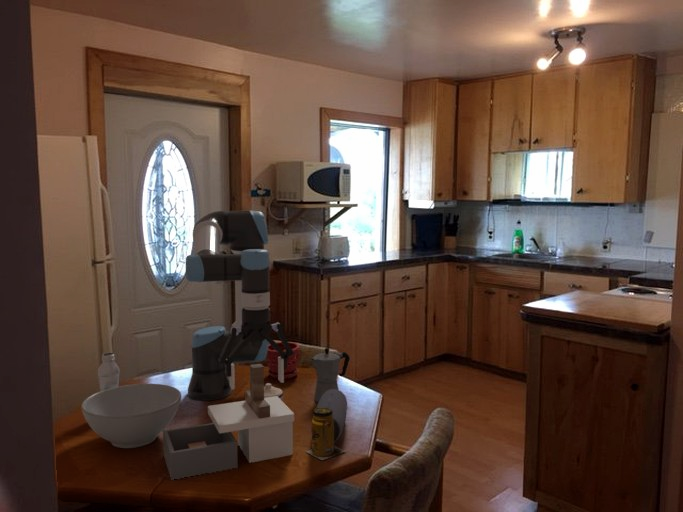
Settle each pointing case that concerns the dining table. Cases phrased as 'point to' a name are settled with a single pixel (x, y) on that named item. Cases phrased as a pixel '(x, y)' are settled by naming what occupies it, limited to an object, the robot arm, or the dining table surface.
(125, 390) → the decorative bowl
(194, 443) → the terracotta tile
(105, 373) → the plastic bottle
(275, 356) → the plant pot
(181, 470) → the box
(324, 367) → the coffeepot
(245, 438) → the board
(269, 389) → the teacup with lid
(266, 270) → the robot arm
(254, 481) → the dining table surface
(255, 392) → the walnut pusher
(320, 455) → the condiment
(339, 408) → the bluetooth speaker
